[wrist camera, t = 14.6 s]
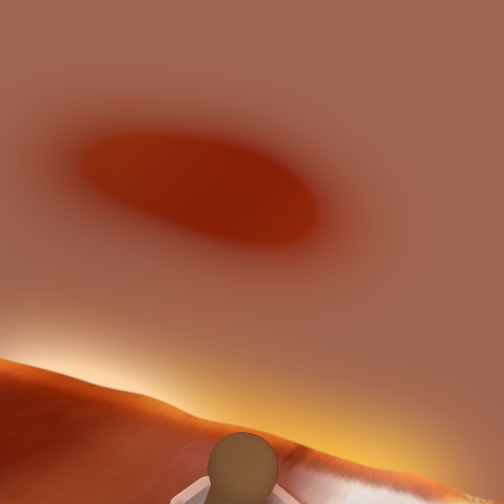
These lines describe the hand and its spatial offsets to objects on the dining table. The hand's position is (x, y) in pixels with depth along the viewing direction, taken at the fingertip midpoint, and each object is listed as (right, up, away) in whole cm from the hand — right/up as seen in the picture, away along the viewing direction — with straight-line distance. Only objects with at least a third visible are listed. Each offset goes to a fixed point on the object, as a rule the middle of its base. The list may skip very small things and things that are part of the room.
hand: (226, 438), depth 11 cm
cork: (-2, -20, +28) cm, 34 cm away
